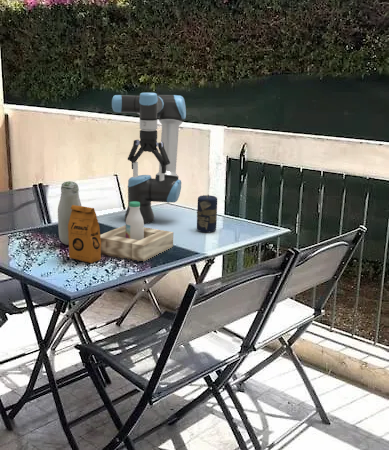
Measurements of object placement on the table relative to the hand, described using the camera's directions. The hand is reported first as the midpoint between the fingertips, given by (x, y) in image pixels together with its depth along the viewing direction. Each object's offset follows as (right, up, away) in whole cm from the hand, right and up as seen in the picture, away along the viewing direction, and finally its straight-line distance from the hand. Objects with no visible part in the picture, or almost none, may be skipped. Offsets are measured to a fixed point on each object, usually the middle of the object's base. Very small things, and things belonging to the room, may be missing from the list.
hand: (148, 178), depth 249 cm
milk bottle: (-6, -30, -5) cm, 31 cm away
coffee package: (-24, -34, -19) cm, 46 cm away
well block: (-5, -31, -5) cm, 32 cm away
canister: (+26, -23, +29) cm, 45 cm away
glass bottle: (-34, -29, +1) cm, 45 cm away
